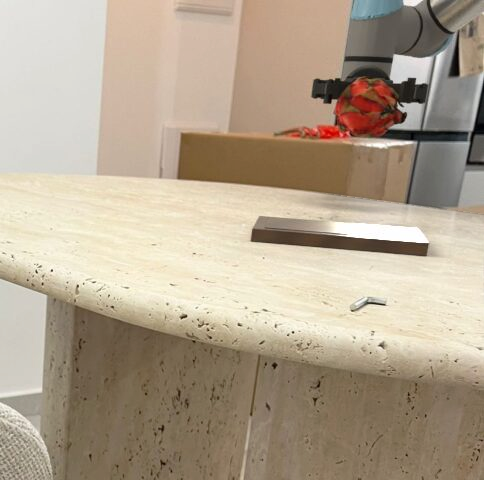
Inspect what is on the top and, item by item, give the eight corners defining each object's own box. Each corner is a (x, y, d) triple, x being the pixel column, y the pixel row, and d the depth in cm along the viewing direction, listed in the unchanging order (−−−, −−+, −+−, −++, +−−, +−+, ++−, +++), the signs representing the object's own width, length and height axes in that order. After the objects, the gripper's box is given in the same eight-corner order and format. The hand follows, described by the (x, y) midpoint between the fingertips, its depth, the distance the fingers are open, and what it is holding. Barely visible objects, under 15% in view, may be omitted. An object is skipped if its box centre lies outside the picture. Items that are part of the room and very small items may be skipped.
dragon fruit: (345, 145, 140) (383, 164, 129) (308, 107, 136) (345, 123, 126) (388, 98, 137) (430, 113, 127) (352, 58, 134) (393, 71, 123)
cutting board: (416, 240, 121) (418, 227, 121) (426, 256, 109) (429, 242, 108) (257, 227, 126) (259, 215, 126) (250, 241, 114) (252, 227, 113)
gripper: (432, 121, 146) (448, 124, 125) (292, 114, 151) (286, 115, 130) (441, 69, 143) (460, 63, 123) (299, 63, 148) (294, 57, 128)
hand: (370, 90), depth 127 cm, fingers closed on dragon fruit, 8 cm apart
